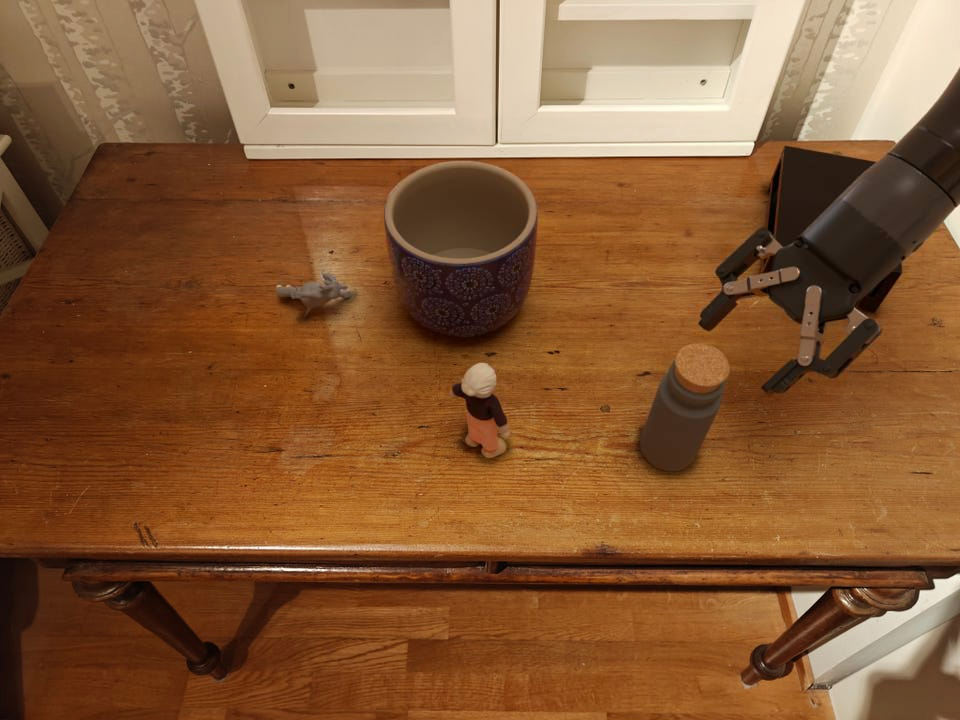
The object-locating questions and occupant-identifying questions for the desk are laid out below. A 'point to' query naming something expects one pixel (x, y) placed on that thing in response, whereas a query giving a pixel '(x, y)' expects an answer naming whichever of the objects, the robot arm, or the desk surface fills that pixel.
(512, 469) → the desk surface
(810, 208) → the stand
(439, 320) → the planter
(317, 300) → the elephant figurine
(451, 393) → the grandmother figurine
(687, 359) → the bottle
